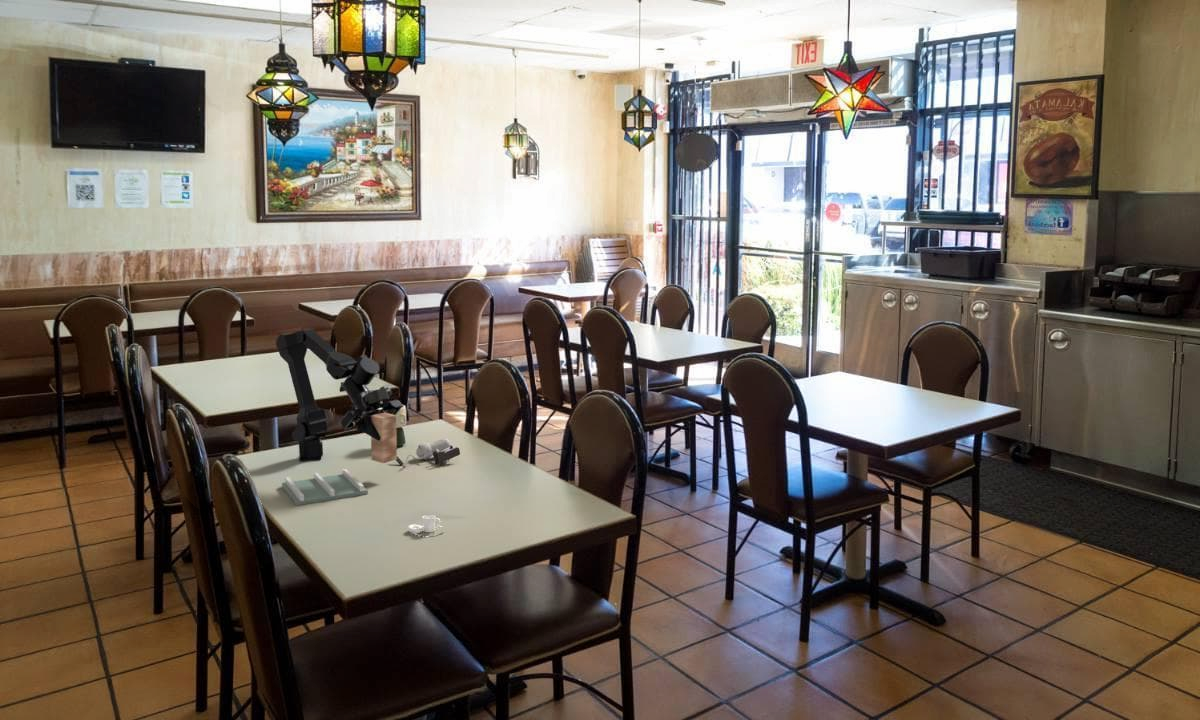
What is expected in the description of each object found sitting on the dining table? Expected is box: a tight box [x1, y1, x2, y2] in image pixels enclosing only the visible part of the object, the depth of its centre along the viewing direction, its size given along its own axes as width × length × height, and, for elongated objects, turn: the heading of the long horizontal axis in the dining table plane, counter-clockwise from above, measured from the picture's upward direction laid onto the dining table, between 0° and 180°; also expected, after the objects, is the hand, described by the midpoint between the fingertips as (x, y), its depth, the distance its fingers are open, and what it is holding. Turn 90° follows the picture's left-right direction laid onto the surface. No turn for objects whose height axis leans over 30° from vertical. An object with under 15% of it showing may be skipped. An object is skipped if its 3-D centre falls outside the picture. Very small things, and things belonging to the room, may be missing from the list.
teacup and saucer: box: [407, 514, 443, 538], centre depth 232 cm, size 9×8×4 cm
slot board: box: [281, 468, 369, 506], centre depth 262 cm, size 18×19×2 cm
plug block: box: [370, 413, 398, 464], centre depth 270 cm, size 5×5×13 cm
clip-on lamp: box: [395, 438, 461, 467], centre depth 288 cm, size 12×6×18 cm
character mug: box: [396, 404, 407, 448], centre depth 305 cm, size 11×7×13 cm, turn 51°
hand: (387, 437), depth 269 cm, fingers closed on plug block, 5 cm apart
